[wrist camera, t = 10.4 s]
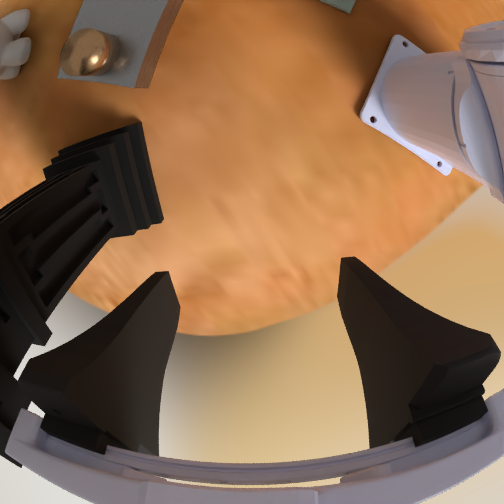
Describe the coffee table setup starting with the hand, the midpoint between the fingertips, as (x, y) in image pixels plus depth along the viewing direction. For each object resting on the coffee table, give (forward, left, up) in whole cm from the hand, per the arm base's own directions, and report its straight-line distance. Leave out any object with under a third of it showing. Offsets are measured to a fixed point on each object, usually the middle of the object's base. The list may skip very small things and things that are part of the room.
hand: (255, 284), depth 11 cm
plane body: (+14, -16, -10) cm, 24 cm away
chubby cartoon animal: (+28, -7, -11) cm, 31 cm away
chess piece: (+12, +3, -11) cm, 16 cm away
